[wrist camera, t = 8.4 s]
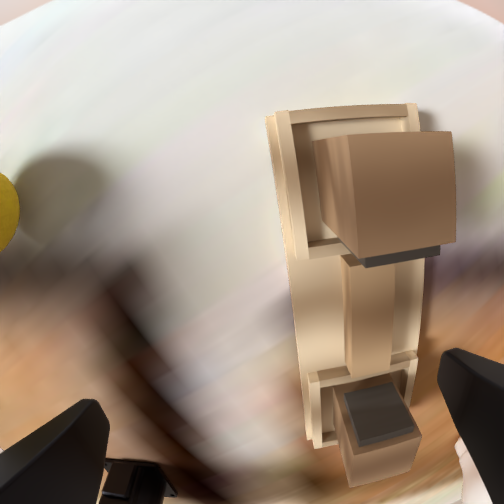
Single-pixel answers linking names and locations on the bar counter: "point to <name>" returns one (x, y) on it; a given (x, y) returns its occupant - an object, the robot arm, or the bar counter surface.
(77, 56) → the bar counter surface
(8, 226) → the lemon
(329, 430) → the rail
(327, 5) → the bar counter surface
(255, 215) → the bar counter surface
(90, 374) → the bar counter surface
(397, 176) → the beige cardboard cube
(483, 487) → the lightbulb
